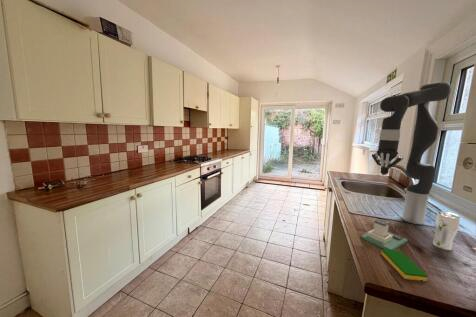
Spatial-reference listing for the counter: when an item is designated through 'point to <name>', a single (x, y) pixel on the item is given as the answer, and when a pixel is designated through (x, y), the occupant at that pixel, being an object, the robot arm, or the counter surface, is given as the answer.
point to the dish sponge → (404, 265)
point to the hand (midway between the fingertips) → (383, 174)
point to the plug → (381, 228)
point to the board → (385, 240)
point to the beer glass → (445, 230)
